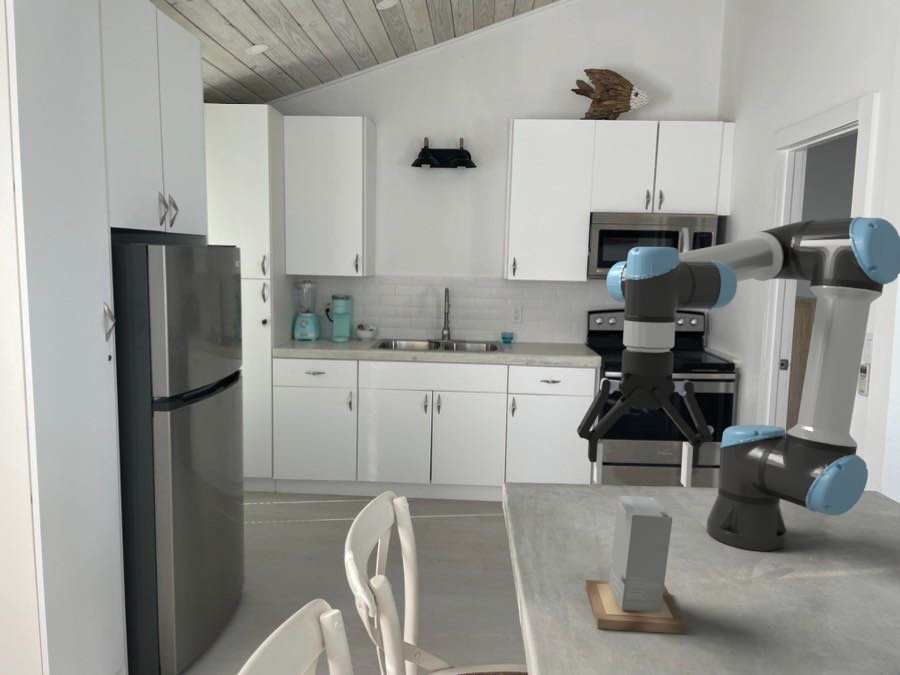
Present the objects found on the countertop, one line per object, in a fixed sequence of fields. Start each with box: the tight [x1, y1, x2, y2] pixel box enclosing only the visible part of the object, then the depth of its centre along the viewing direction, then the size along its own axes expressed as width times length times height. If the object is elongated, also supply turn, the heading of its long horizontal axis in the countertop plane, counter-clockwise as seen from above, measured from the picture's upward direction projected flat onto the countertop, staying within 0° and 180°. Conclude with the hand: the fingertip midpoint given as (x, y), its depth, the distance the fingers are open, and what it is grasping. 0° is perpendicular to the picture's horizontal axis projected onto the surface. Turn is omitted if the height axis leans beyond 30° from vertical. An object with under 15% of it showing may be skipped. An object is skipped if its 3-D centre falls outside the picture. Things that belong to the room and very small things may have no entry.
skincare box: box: [608, 495, 673, 612], centre depth 107 cm, size 8×7×16 cm
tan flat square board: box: [585, 579, 687, 635], centre depth 108 cm, size 13×13×2 cm
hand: (641, 483), depth 106 cm, fingers open, 13 cm apart
